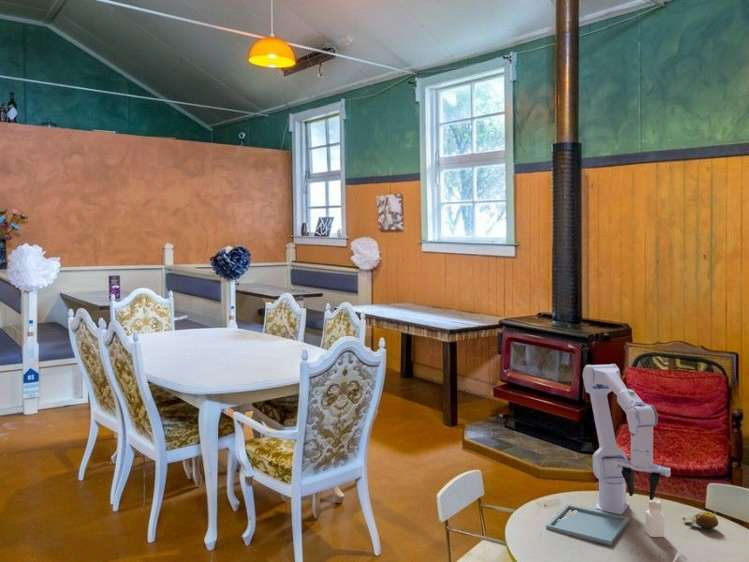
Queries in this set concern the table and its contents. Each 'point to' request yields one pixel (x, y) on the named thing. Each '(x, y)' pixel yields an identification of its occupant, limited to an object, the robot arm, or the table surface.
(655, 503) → the pepper shaker
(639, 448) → the robot arm
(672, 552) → the table surface
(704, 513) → the chicken drumstick
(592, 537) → the tray
